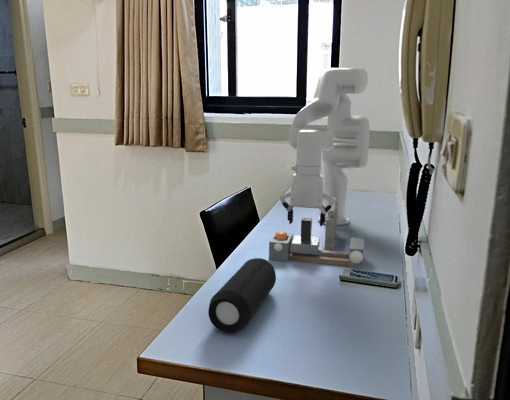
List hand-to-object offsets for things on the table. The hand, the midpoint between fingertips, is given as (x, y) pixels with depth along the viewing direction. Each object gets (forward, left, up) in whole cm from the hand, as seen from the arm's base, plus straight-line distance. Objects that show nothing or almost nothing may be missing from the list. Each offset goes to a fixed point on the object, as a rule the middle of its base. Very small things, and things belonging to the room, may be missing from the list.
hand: (306, 223), depth 147 cm
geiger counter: (-21, +6, -12) cm, 24 cm away
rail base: (-1, +4, -11) cm, 12 cm away
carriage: (-1, 0, -9) cm, 9 cm away
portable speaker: (+39, -10, -12) cm, 42 cm away
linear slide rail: (0, +4, -11) cm, 12 cm away
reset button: (-1, -8, -8) cm, 11 cm away
